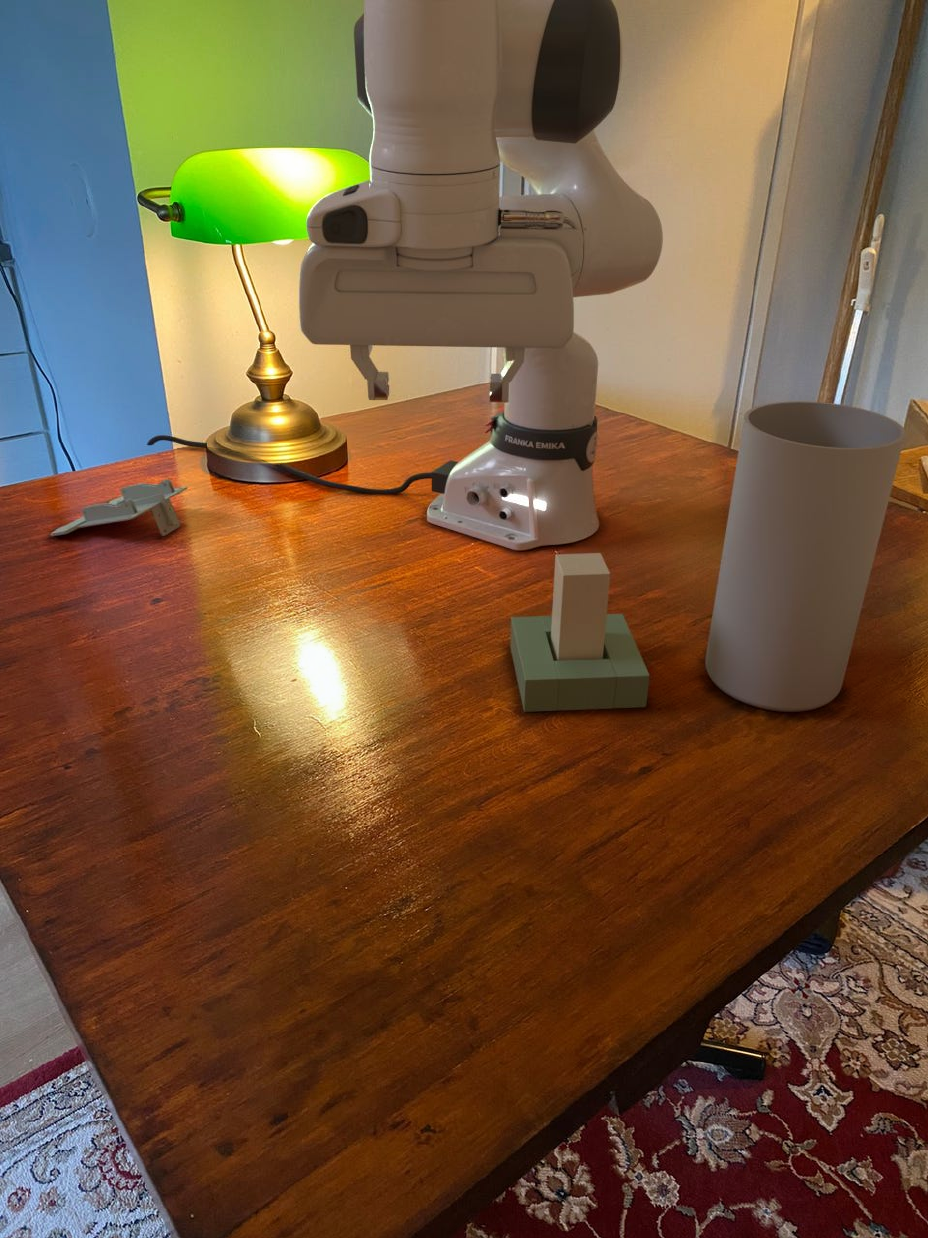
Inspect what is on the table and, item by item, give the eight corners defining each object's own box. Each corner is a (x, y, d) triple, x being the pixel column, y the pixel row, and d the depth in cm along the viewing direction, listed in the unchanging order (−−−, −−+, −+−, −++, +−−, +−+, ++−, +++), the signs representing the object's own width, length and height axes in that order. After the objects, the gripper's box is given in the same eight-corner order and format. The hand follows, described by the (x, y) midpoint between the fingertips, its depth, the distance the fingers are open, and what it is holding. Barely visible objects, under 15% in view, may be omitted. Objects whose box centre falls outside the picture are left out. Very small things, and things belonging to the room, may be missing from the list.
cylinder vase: (822, 732, 79) (889, 460, 67) (685, 689, 85) (723, 431, 73) (853, 666, 89) (917, 416, 76) (727, 631, 94) (768, 393, 82)
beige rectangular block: (556, 688, 85) (563, 575, 79) (549, 664, 89) (555, 554, 83) (600, 686, 86) (610, 573, 80) (591, 662, 89) (600, 552, 83)
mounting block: (523, 712, 82) (525, 680, 80) (510, 647, 92) (511, 616, 90) (646, 707, 83) (650, 675, 81) (619, 643, 92) (622, 613, 91)
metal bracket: (197, 467, 119) (119, 509, 107) (213, 508, 121) (139, 554, 109) (118, 481, 125) (37, 522, 113) (135, 520, 128) (57, 565, 116)
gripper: (583, 200, 65) (570, 385, 73) (300, 198, 66) (318, 381, 74) (588, 221, 60) (574, 417, 68) (282, 217, 61) (304, 412, 69)
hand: (439, 398), depth 71 cm, fingers open, 8 cm apart
